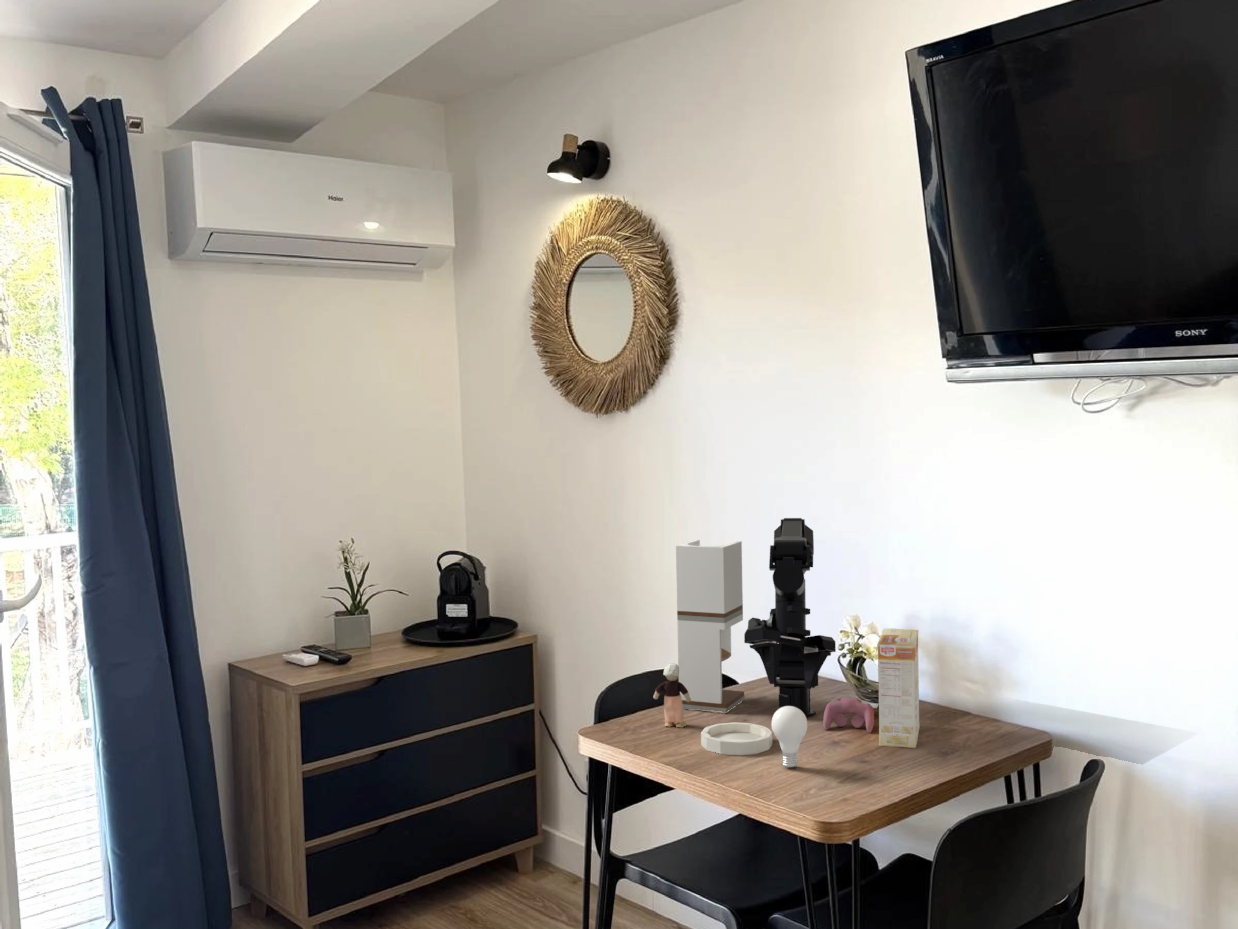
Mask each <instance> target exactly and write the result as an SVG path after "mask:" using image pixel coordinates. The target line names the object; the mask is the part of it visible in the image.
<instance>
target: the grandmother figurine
mask: <svg viewBox="0 0 1238 929" xmlns="http://www.w3.org/2000/svg"><path fill="white" fill-rule="evenodd" d="M662 675H663V676H665V678H666V679H667V680H666V681H663V682H661V683H660V684H659V685H657V686H656V688H655V689H654V690H655V692H654V694H653V697H652V698H653V699H654V700H658V699H659V696H660V695H662V694H664V699H663V711H664V713H663V714H664V727H665V726H669V727H668V728H671V727H670V726H673V725H674V724H675V723H677V724H675V725H674V726H676V727H675V728H677V727H682V728H685V727H687V726H688V724H687V723H686V722H687V721H685V720H684V719H685V718H684V710H683V706H682V698H681V695H680V692H681V693H682V694H683V695H684V697H685V698H686V701H687V702H690V701H691V698H690V697H689V693H688V690H687V689H686V688H685V686H684V685H683V684H682V683H680V682H679V681H677V680H679V666H678V664H677V663H674V662H673V663H668V664H667V665H666V666H665V668H664V669H663V674H662ZM686 725H687V726H686ZM674 726H673V727H674ZM684 726H685V727H684Z"/></svg>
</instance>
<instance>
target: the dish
mask: <svg viewBox="0 0 1238 929" xmlns="http://www.w3.org/2000/svg"><path fill="white" fill-rule="evenodd" d="M700 745H701V747H703V748H704V749H705V751H708V752H711V753H715V752H716V753H715V754H718V753H719V755H729V756H746V755H748V756H749V755H757V754H761V753H763V752H767V751H769V750H770V749H771V748H772V746H773V730H772V729H771V730H770V729H769V728H768V727H767V726H764V725H760V724H756V723H751V722H749V723H748V722H736V721H733V722H721V723H715V724H713V725H712V724H711V725H708V726H706V727H704V728H703V730H702V731H701V732H700Z"/></svg>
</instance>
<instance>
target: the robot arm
mask: <svg viewBox="0 0 1238 929" xmlns="http://www.w3.org/2000/svg"><path fill="white" fill-rule="evenodd" d="M805 521H806V520H805V519H804V518H802V517H784V518H781V519H780V525H779V526H778V527H776V529H775V530H774V531H773V544H772V545H769V560H768V561H769V566H768V569H769V571H773V573H772V582H773V586H774V591H775V592H774V595H775V596H774V598H775V599H774V604H775V605H774V606H775V608H770V611H769V617H768V618H767V619H766V620H765V619H762V620H761V619H760V618H758V617H751V618H749V620H748V622H747V629H746V630H745V632H744V638H743V640H744V644H748V645H749V648H750V649H752V650H754V651H755V652H756V653H757V654H758V655H759V657H760V660H761V661H762V665H763V667H764V670H765V673H766V676H767V679H768V681H769V682H768V683H769V684H770V685H773V688H777V687H778V691H779V692H778V709H780V708H781V707H784V706H794V707H797V708H798V709H800V710H801V711H802V712H803V713H804V714H805V716H806V718H807V717H810V716H813V715H817V711H816V710H812V709H811V689H815V687H818V686H819V673H820V671H821V669H822V667H823V665H824V663H825V661H826V660H827V658H828V657H830V656H831V655H832V653H835V652H836V649H837V648H836V640H835V639H834V638H833V637H832V636H826V635H821V634H818V635H811V630H810V629H807V628H806V626H807V624H806V623H807V621H806V620H807V619H806V618H807V617H806V616H807V615H811V608H807V607H806V605H807V604H806V579H805V574H806V572H808V571H809V572H810V571H811V568H814V554H815V550H814V549H815V548H814V547H815V545H814V530H813V529H812V528H810V527H809V526H808V525H807V524H806V522H805ZM776 711H777V710H775V711H773V714H774V713H775V712H776Z"/></svg>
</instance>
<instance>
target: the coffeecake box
mask: <svg viewBox="0 0 1238 929" xmlns="http://www.w3.org/2000/svg"><path fill="white" fill-rule="evenodd" d="M877 666H878V667H877V670H878V671H877V673H878V674H877V675H878V676H877V678H878V680H877V681H878V686H877V687H878V735H879V736H878V737H879V738H878V746H879V747H891V748H892V747H893V748H911V749H916V748H917V744H918V738H919V733H920V732H919V731H920V689H919V688H920V687H919V683H920V682H919V681H920V680H919V630H918V629H904V628H893V627H892V628H887V627H886V628H882V632H881V634H880V637H879V639H878V641H877Z"/></svg>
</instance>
